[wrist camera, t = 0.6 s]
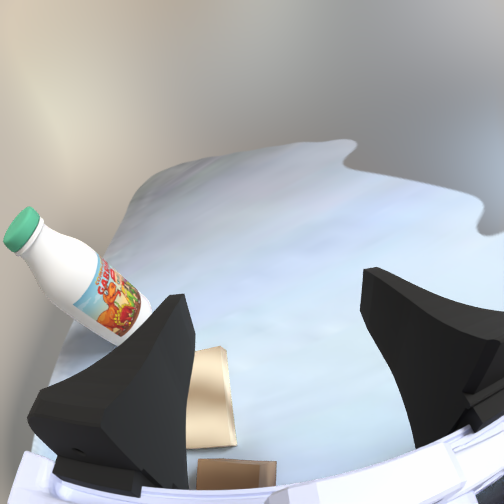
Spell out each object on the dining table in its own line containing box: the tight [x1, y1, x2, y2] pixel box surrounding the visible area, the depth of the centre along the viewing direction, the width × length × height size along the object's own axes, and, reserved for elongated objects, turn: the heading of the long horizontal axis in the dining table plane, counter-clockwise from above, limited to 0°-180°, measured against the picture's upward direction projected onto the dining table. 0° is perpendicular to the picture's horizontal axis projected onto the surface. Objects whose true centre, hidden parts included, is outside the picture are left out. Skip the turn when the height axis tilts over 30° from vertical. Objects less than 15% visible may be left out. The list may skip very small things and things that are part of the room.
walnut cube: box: [196, 458, 277, 490], centre depth 18 cm, size 5×5×5 cm
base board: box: [186, 346, 237, 449], centre depth 26 cm, size 10×10×2 cm
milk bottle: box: [3, 207, 152, 346], centre depth 28 cm, size 8×8×20 cm
